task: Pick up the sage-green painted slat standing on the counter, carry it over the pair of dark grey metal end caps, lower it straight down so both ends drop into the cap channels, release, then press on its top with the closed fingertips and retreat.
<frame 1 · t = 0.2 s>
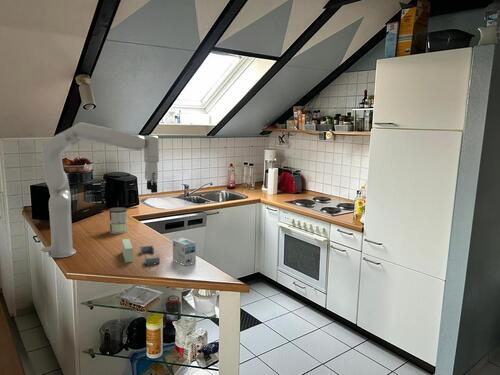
hand: (152, 191, 207), 31 cm above the worktop, fingers open, 9 cm apart
slat: (127, 257, 194), on the worktop
coffee can: (118, 231, 237), on the worktop
light bulb box: (184, 262, 190), on the worktop
end caps: (149, 257, 193), on the worktop
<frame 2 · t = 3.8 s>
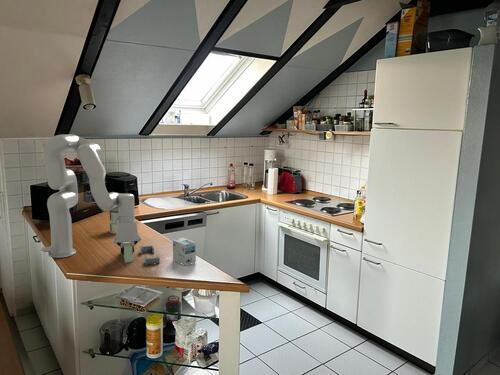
hand: (127, 253, 194), 1 cm above the worktop, fingers closed on slat, 3 cm apart
slat: (127, 256, 194), on the worktop, touching gripper
everything else where it was.
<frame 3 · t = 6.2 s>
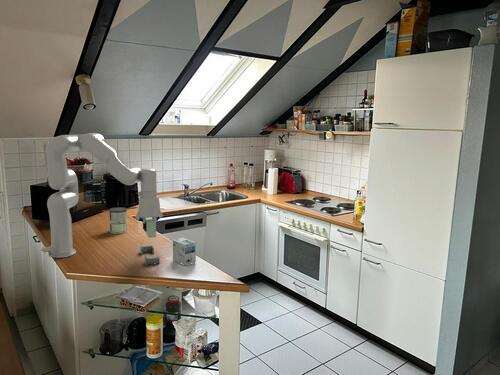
hand: (149, 229, 191), 14 cm above the worktop, fingers closed on slat, 3 cm apart
slat: (149, 233, 191), point 13 cm above the worktop, touching gripper
everything else where it was.
when the fingers open (3 cm above the worktop, at t = 8.7 s): slat drops 1 cm, on the worktop.
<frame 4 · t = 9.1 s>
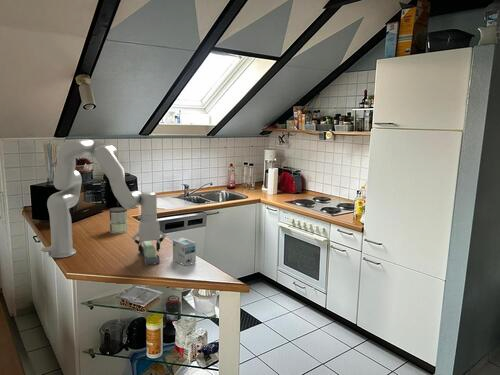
hand: (149, 251, 193), 3 cm above the worktop, fingers open, 7 cm apart
slat: (149, 258, 194), on the worktop
everything else where it was.
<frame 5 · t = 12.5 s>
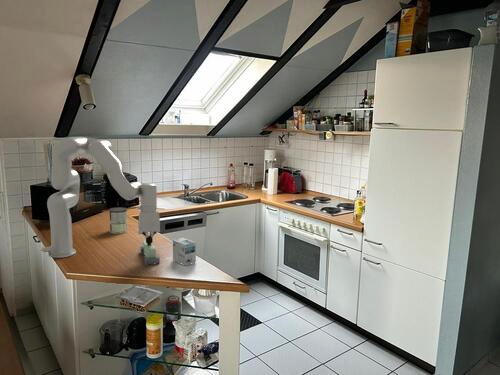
hand: (149, 244, 192), 7 cm above the worktop, fingers closed
nothing on the worktop moved.
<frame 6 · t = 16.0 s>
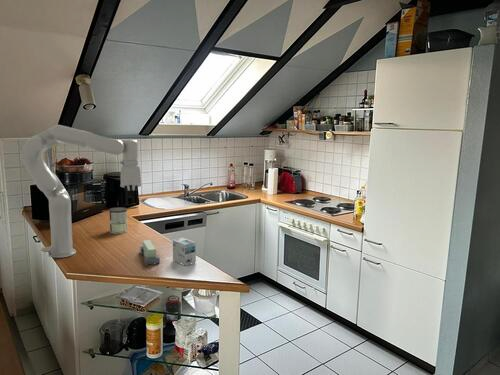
hand: (130, 197, 206), 27 cm above the worktop, fingers closed
nothing on the worktop moved.
at the end: slat 0.0 cm off-centre on the end caps, point 0.0 cm above the end caps's base; slat tilted 0°; the gripper is holding nothing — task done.
